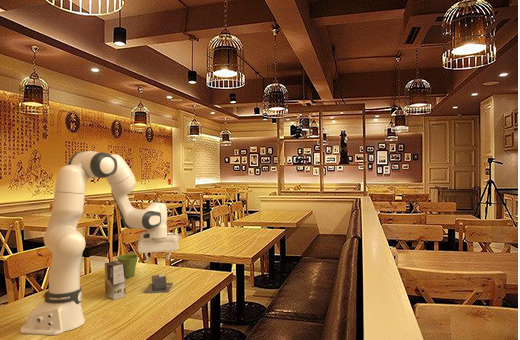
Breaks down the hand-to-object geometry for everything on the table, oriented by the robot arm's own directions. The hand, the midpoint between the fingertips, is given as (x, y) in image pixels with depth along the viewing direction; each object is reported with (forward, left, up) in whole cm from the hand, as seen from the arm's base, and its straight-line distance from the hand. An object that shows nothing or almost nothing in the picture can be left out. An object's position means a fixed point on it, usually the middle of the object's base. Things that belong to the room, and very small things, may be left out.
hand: (158, 260), depth 191 cm
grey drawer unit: (0, 0, -13) cm, 13 cm away
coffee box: (-19, -9, -15) cm, 25 cm away
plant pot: (-22, +23, -15) cm, 35 cm away
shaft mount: (0, 0, -15) cm, 15 cm away
